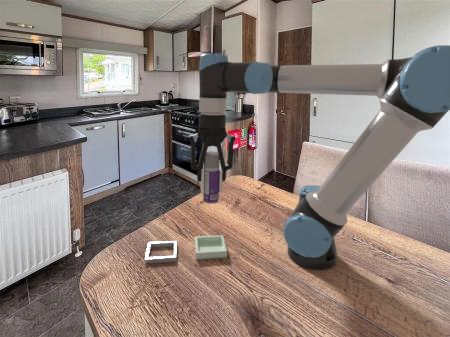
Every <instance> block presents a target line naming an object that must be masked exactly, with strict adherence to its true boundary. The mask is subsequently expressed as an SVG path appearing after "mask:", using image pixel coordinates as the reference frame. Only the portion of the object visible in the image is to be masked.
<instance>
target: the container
mask: <svg viewBox="0 0 450 337" xmlns="http://www.w3.org/2000/svg"><path fill="white" fill-rule="evenodd" d="M219 169H220V160H219V154H218V151H207V152H206V155H205V159H204V163H203V170H204V193H202V194H203V195H202V198H203V200H202V201H203V203H205V204H209V205H210V204H211V205H212V204H213V205H214V204H216V203H219V199H220V198H219V196H220V195H219V193H220V192H219Z"/></svg>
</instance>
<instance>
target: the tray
mask: <svg viewBox="0 0 450 337" xmlns="http://www.w3.org/2000/svg"><path fill="white" fill-rule="evenodd" d="M227 249H228V248H227V245H226V241H225V238H224V235H221V234H220V235H199V236H198V235H197V236H194V251H195V252H194V253H195V261H204V260H216V259H217V260H218V259H220V260H221V259H227V258H228V250H227Z"/></svg>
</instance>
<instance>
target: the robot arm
mask: <svg viewBox="0 0 450 337" xmlns="http://www.w3.org/2000/svg"><path fill="white" fill-rule="evenodd" d="M198 73H199V74H198V75H199V96H198V102H199V104H198V105H199V106H198V109H199V110H198V111H199V113H200V114H199V115H198V118H199V119H198V130H197V133H195V134H189V135H188V139H189V142H190V166H191V167H190V168H191V170H192V171H196V172H197V174H196V180H197V182H200V192H201V194H203V193H204V159H205V155H206V152H208V148H210V147H216V150H217V151H216V152H218V154H219V166H220V168H219V193H223V182H226V179H227V177H226V176H227V171H228V170H232V169H233V163H234V162H233V160H234V159H233V157H234V144H235V141H236V140H237V139H236V136H235V135H234V134H229V133H227V129H226V123H227V120H226V118H227V116H226V114H225V113H226V112H227V96H228V95H227V93H237V94H239V93H240V94H241V93H242V94H252V95H258V94H259V95H260V94H261V95H262V94H263V95H264V94H267V93H268V94H269V93H272V94H273V93H274V94H275V93H277V94H278V93H280V94H282V93H284V94H307V95H308V94H309V95H310V94H312V95H339V96H340V95H342V96H344V95H346V96H367V97H368V96H370V97H371V96H375V97H377V98H378V99H379V104H380V109H379V110H378V112H377V114H376V115H375V116H374V117H373V118H372V120H371V121H370V122H369V124H368V125H367V126H366V128H365V129H364V130H363V131H362V133H361V134H360V136H359V137H358V138H357V139H356V140H355V142H354V143H353V144H352V146H351V147H349V150H348V151H347V152H346V153H345V155H344V156H343V157H342V159H341V160H340V161H339V162H338V164H337V165H336V166H335V167H334V168H333V169H332V171H331V173H330V174H329V175H328V177H326V178H325V181H324V182H323V183H322V184H321V185H313V184H310V185H308V184H307V185H303V186H301V188H300V191H299V193H298V194H299V198H298V202H297V204H296V206H295V208H294V209H293V211H292V212H291V214H290V216H289V217H288V218H287V219H286V221H285V223H284V227H283V238H284V241H285V243H286V244H287V255H288V257H289V258H290V259H291V261H292V262H294V263H296V264H298V265H300V267H304V268H307V269H311V270H317V271H321V270H327V269H331V268H333V267H334V266H335V265H336V264H337V259H338V251H337V245H336V242H335V237H336V236H337V235H338V234H339V232H340V231H341V230H342V229H343V228H344V227H345V225H346V224H347V223H348V218H347V217H348V216H347V213H348V212H349V211H350V210H351V209H352V208H353V207H354V205H355V204H356V203H357V202H358V201H359V199H361V198H362V197H363V195H364V194H365V193H366V192H367V190H368V189H369V188H370V187H371V186H372V185H373V184H374V183H375V182H376V180H378V178H379V177H380V176H381V175H382V174H383V173H384V172H385V170H386V169H387V168H388V167H389V166H390V165H391V164H392V162H394V161H395V159H396V158H397V157H398V155H400V154H401V152H402V151H403V150H404V149H405V148H406V146H408V145H409V144H410V142H411V141H412V140H413V138H414V137H415V136H416V135H417V134H418V133H420V132H422V131H426V130H427V131H428V130H432V129H433V128H435V126H436V125H437V124H439V122H440V121H441V120H442V119H443V117H444V116H445V115H446V114H447V113H448V112H449V111H450V45H448V44H447V45H442V44H441V45H433V46H429V47H426V48H425V49H422V50H420V51H418V52H417V53H415V54H414V55H413V56H410V57H405V58H398V59H396V58H395V59H393V58H392V59H386V60H385V61H383V63H373V64H372V63H369V64H368V63H367V64H363V63H361V64H355V63H353V64H301V65H300V64H298V65H297V64H296V65H295V64H291V65H289V64H287V65H276V64H274V65H271V64H270V63H269V62H261V61H253V62H252V61H250V62H249V61H247V62H246V61H244V62H230V61H229V58H228V55H226V54H224V53H211V52H210V53H203V54H202V55H200V57H199V70H198ZM198 138H199V140H200V141H201V143H202V145H201V151H200V155H199V159H198V163H197V164H196V161H197V160H196V157H197V156H196V142H197V141H198ZM225 139H226V142H227V156H226V159H227V160H226V162H225V157H224V153H223V147H222V143H223V142H224V140H225Z"/></svg>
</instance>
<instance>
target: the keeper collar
mask: <svg viewBox="0 0 450 337" xmlns="http://www.w3.org/2000/svg"><path fill="white" fill-rule="evenodd" d="M177 243H178V242H177V240H171V241H170V240H169V241H168V240H166V241H149V242H148V243H147V248H146V252H145V258H144V264H159V263H161V264H162V263H173V262H174V263H175V262H177V254H178V253H177V252H178V250H177V249H178V248H177V246H178V244H177ZM167 247H168V248H169V247H173V255H165V256H164V255H163V256H150V255H151V248H167Z"/></svg>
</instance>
